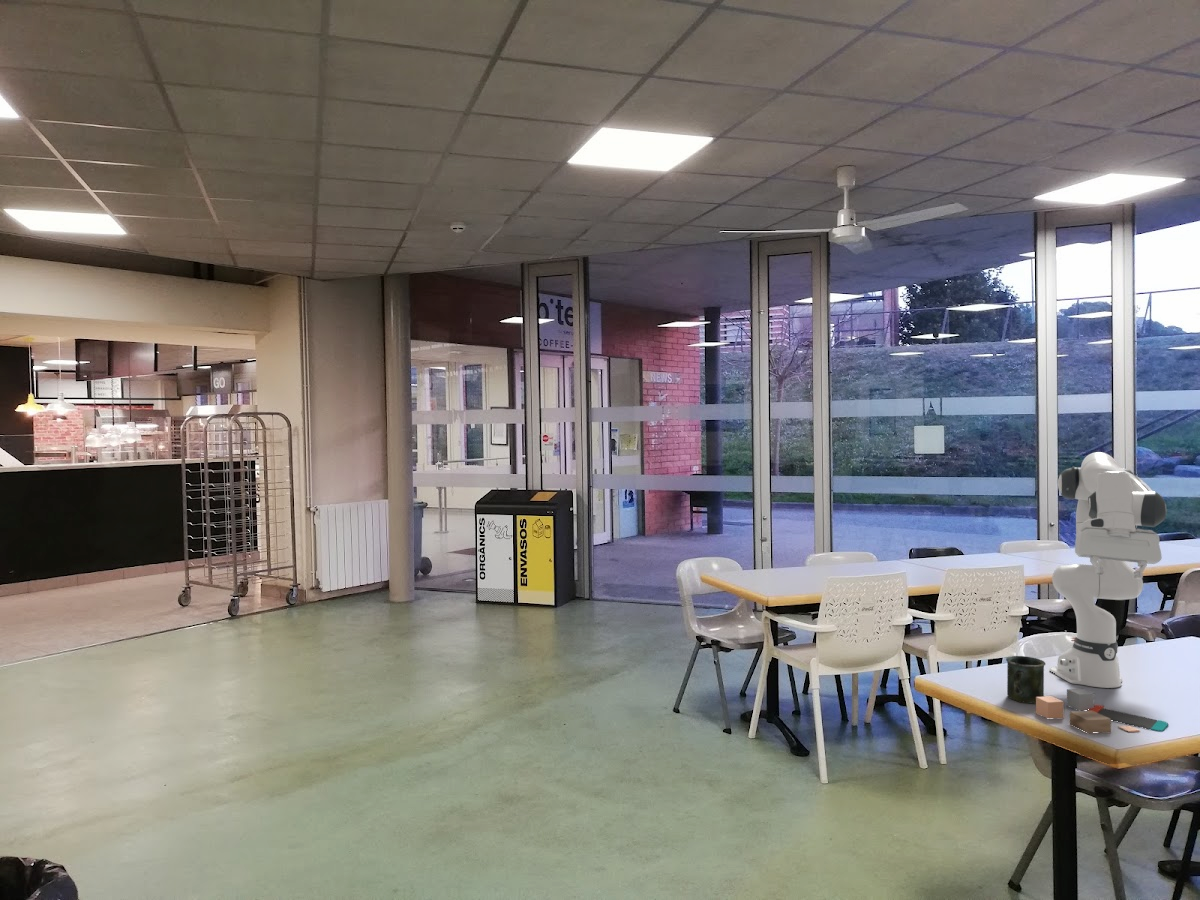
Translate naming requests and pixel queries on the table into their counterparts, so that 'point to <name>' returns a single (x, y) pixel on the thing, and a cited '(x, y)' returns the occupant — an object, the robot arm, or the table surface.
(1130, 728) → the tile
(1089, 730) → the walnut block
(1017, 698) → the mug
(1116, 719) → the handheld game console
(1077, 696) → the grey cube
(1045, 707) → the terracotta cube
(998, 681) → the table surface
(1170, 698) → the table surface
